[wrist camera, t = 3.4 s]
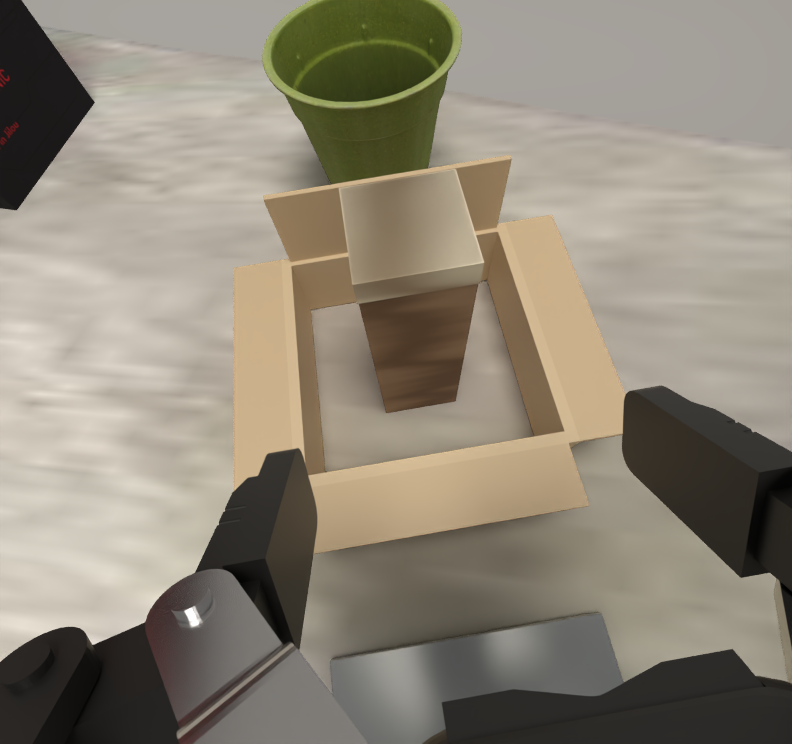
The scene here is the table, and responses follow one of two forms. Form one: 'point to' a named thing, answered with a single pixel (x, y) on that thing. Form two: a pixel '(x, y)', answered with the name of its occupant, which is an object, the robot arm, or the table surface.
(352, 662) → the coaster
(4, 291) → the table surface
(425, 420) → the table surface
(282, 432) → the carton
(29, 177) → the product box
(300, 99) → the plant pot
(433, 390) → the walnut box
